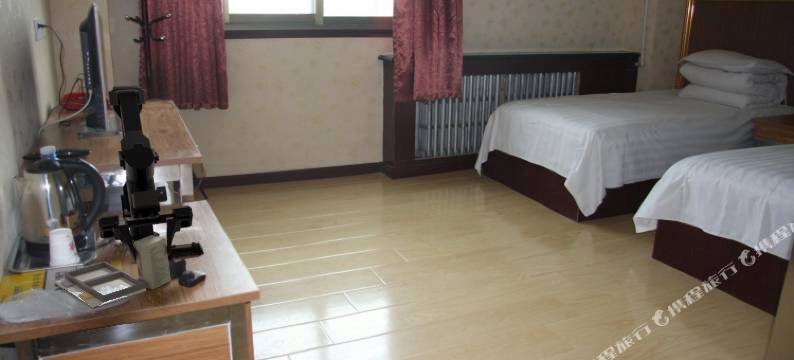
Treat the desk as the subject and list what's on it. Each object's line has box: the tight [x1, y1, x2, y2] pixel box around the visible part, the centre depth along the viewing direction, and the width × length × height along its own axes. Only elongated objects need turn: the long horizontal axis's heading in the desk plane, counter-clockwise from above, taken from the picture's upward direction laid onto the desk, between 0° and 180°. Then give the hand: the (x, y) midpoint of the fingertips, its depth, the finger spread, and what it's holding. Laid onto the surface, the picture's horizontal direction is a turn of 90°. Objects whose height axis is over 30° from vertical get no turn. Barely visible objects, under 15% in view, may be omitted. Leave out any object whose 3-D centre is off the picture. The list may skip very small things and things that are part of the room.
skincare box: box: [133, 235, 171, 290], centre depth 133 cm, size 5×4×10 cm
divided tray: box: [54, 260, 147, 309], centre depth 133 cm, size 18×11×2 cm, turn 49°
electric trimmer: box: [166, 241, 205, 258], centre depth 150 cm, size 4×16×3 cm, turn 110°
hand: (152, 257), depth 132 cm, fingers closed on skincare box, 6 cm apart
